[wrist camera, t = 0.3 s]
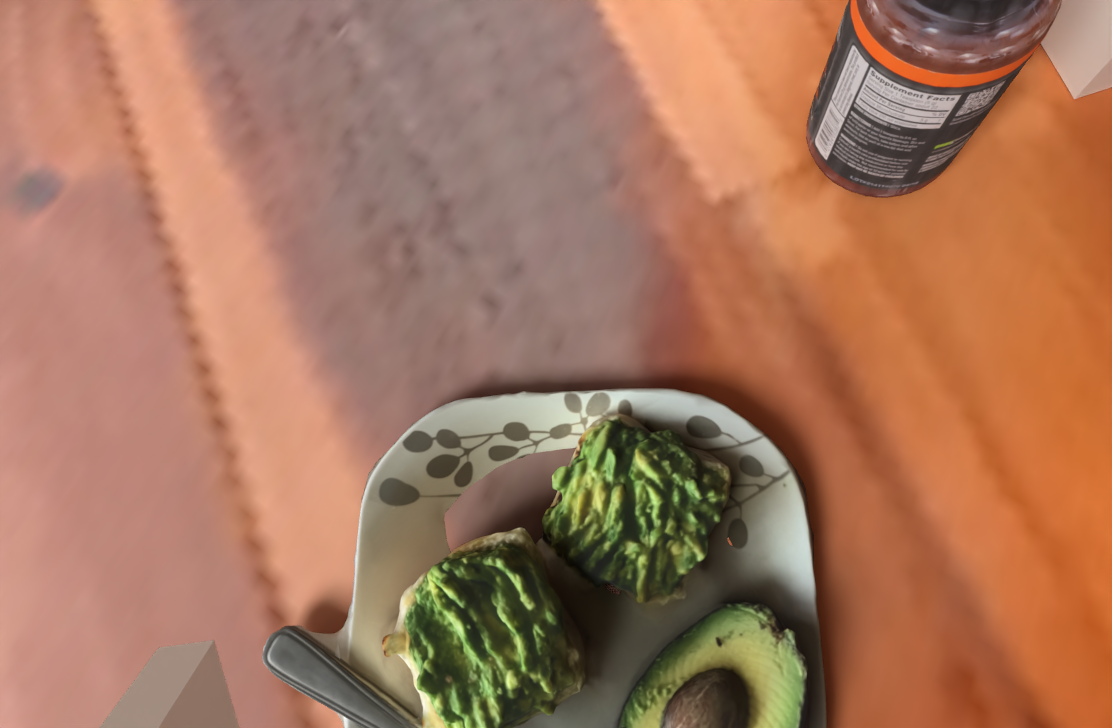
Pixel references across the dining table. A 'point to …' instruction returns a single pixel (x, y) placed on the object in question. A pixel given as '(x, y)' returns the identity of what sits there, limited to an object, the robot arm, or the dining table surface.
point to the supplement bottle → (915, 85)
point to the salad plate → (578, 577)
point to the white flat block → (1082, 45)
